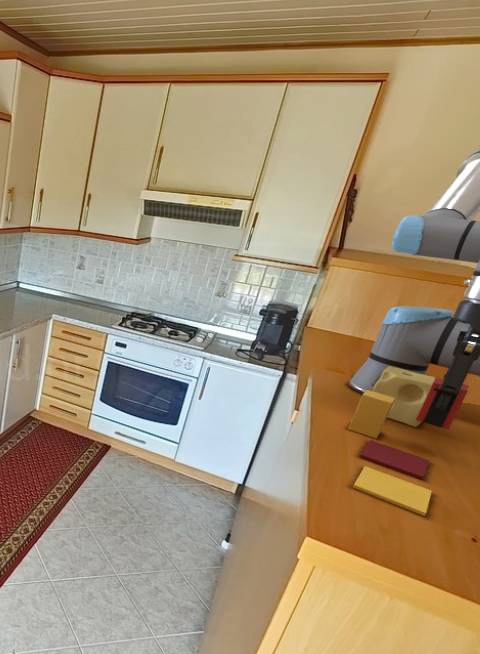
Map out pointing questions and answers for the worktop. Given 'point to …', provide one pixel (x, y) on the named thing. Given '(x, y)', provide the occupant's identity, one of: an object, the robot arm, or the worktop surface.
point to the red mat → (395, 459)
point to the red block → (454, 408)
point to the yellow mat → (393, 490)
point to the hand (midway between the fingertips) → (433, 420)
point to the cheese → (404, 393)
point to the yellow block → (371, 413)
